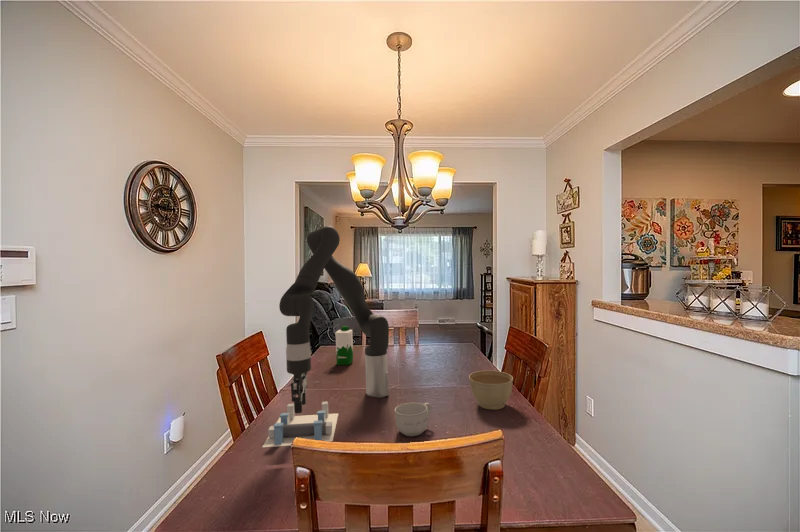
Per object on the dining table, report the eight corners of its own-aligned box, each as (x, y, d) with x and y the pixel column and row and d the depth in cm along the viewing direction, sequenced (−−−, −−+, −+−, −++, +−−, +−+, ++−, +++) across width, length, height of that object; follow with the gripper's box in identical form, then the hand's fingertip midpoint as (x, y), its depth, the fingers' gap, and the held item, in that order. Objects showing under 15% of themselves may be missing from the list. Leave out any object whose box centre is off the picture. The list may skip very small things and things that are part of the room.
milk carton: (354, 361, 201) (353, 325, 201) (350, 365, 192) (348, 328, 192) (339, 360, 203) (338, 325, 202) (334, 365, 194) (333, 328, 194)
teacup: (404, 443, 109) (404, 417, 109) (389, 429, 119) (388, 405, 119) (442, 432, 116) (442, 407, 116) (425, 419, 125) (424, 396, 125)
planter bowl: (484, 393, 147) (483, 367, 147) (521, 404, 136) (520, 375, 135) (461, 405, 136) (460, 377, 136) (499, 418, 124) (498, 387, 124)
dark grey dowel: (332, 430, 117) (332, 419, 117) (331, 436, 114) (331, 425, 114) (271, 434, 116) (270, 423, 116) (268, 440, 112) (267, 429, 112)
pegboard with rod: (338, 415, 131) (337, 398, 130) (332, 444, 110) (331, 424, 110) (279, 419, 129) (279, 401, 129) (262, 449, 108) (261, 428, 108)
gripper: (306, 362, 107) (308, 417, 108) (314, 350, 122) (315, 399, 122) (281, 363, 107) (283, 419, 107) (291, 351, 121) (293, 400, 121)
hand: (300, 408), depth 115 cm, fingers open, 6 cm apart
